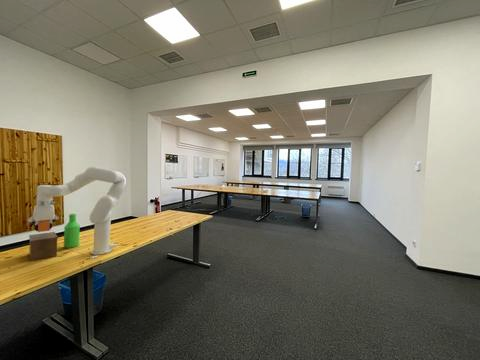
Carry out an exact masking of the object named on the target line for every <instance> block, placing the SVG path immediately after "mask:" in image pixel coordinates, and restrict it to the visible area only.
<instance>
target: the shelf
mask: <svg viewBox="0 0 480 360" xmlns="http://www.w3.org/2000/svg"><path fill="white" fill-rule="evenodd" d="M28 237H29V251H28V255H29V261H30V262H33V261H39V260H44V259H45V260H46V259H50V258H55V257H57V254H58V253H57V252H58V239H59V236H58V235H57V233H56V232H55V231H50V232H41V233H36V234H35V233H34V234H29V235H28Z"/></svg>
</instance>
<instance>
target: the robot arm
mask: <svg viewBox="0 0 480 360" xmlns="http://www.w3.org/2000/svg"><path fill="white" fill-rule="evenodd" d="M95 181H99V182H105V183H112V185H111V186H110V188H109V190H108V191H107V193H106V194H105V195H104V196H101V197H100V198H99V199H98V200H97V202H96V204H95V205H94V207H93V208H92V211H91V212H90V215H89V221H90V223H92V224H94V228H93V249H91V250H90V254H91V255H94V256H96V255H105V254H108V253H111V251H112V250H113V248H115V247H118V244H117V243H110V241H111V225H112V224H111V222H112V217H113V216H112V215H113V214H112V211H111V210H112V208H114V207H115V206H117V204H118V203H119V200H120V198H121V197H122V194H123V192H124V190H125V188H126V185H127V179H126V177H125V175H124V174H123V173H122V172H120V171H118V170H110V169H105V168H102V167H100V166H89V167H87V168H86V169H85V171H83V172H81V173H79V174H77V175H75V177H74V179H73V180H71V181H69V182H67V183H64V184H59V185H58V184H57V185H51V184H41V185H38V186H37V188H36V205H34V207H33V212H32V216H31V217H29V218H28V219H27V222H29V223H30V224H32V225H34V231H36V232H38V222H44V221H49V222H50V230H49V231H51V230H52V228H53V224H54V223H55V222H56V221H58V220H59V219H60V217H59V216H58V215H56V214H55V206H54V204H56V201H55V200H53V199H54V198H53V197H63V196H67V195H70V194H72V193H74V192H77V191H78V190H80V189H82V188H84V187H85V186H87V185H89V184H91V183H94V182H95Z"/></svg>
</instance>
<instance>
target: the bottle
mask: <svg viewBox="0 0 480 360" xmlns="http://www.w3.org/2000/svg"><path fill="white" fill-rule="evenodd" d="M80 227H81V226H80V224H79V223H78V222H77V214H76V213H69V214H68V222H67V223H66V224H65V226H64V227H63V229H64V231H63V247H64V248H65V249H73V248H76V247H78V246H79V245H80Z"/></svg>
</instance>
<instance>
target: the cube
mask: <svg viewBox="0 0 480 360" xmlns="http://www.w3.org/2000/svg"><path fill="white" fill-rule="evenodd" d="M49 231H51V230H50V221H49V220H47V221H39V222H38V231H37V233H44V232H49Z"/></svg>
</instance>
